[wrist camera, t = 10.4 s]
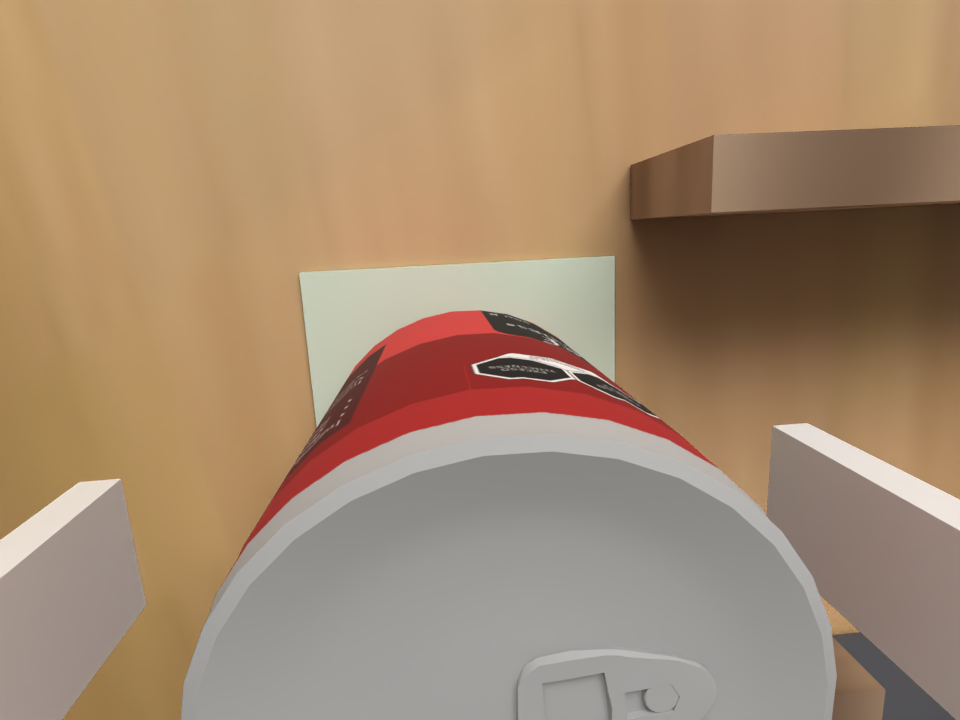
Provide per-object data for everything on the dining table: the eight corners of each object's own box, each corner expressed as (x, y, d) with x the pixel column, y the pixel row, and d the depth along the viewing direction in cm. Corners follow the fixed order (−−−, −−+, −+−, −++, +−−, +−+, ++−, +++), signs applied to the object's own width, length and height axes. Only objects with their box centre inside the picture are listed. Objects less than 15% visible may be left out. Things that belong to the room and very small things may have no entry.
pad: (335, 589, 18) (335, 591, 18) (299, 272, 16) (298, 272, 16) (613, 564, 19) (614, 567, 19) (613, 255, 17) (614, 256, 17)
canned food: (631, 486, 18) (909, 837, 8) (400, 585, 18) (354, 1070, 8) (542, 260, 17) (741, 306, 6) (288, 371, 17) (31, 613, 6)
